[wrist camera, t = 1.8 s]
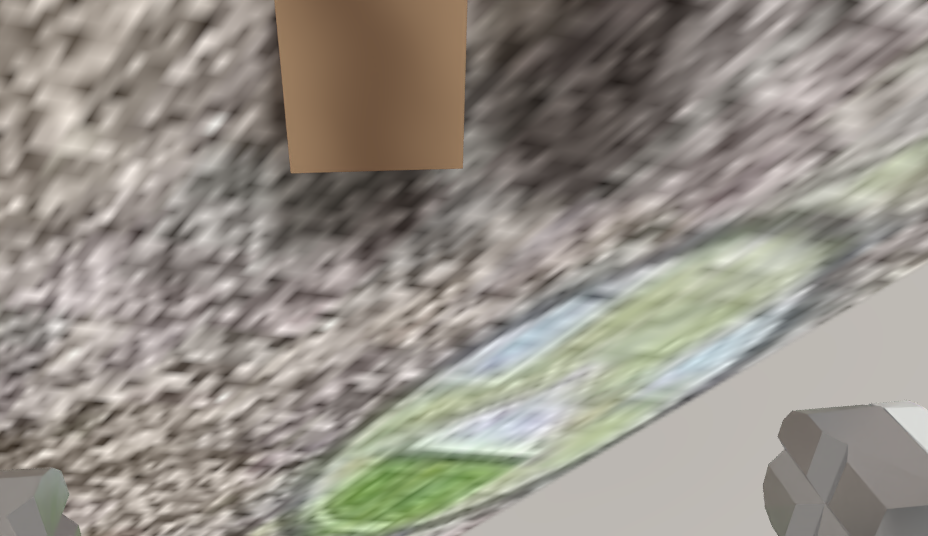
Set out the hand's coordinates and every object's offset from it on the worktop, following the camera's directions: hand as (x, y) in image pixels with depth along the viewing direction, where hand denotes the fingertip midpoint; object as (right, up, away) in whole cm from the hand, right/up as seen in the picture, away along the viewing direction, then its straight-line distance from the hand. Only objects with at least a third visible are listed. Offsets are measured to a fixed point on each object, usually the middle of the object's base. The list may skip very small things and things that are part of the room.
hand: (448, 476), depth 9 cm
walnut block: (-3, +10, +18) cm, 21 cm away
